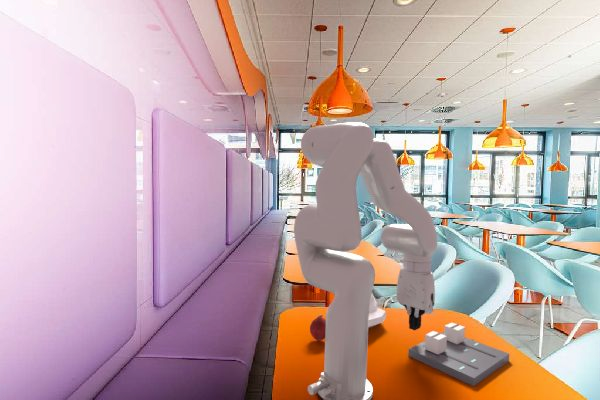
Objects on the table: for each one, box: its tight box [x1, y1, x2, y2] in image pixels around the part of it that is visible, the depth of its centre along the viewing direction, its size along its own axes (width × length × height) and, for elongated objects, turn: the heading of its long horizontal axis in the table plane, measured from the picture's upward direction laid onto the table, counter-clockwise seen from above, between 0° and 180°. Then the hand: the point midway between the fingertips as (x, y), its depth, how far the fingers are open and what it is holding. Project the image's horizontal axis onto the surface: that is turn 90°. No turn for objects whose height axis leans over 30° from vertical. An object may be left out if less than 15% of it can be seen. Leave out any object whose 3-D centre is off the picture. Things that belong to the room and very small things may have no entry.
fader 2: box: [443, 322, 466, 344], centre depth 105 cm, size 4×4×4 cm
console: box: [408, 331, 510, 387], centre depth 99 cm, size 20×18×2 cm
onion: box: [309, 313, 326, 342], centre depth 107 cm, size 6×6×8 cm
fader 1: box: [424, 330, 447, 354], centre depth 99 cm, size 4×4×4 cm
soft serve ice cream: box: [368, 292, 387, 329], centre depth 119 cm, size 12×15×14 cm
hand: (414, 328), depth 104 cm, fingers closed
